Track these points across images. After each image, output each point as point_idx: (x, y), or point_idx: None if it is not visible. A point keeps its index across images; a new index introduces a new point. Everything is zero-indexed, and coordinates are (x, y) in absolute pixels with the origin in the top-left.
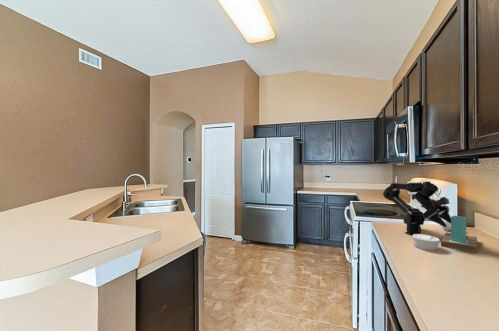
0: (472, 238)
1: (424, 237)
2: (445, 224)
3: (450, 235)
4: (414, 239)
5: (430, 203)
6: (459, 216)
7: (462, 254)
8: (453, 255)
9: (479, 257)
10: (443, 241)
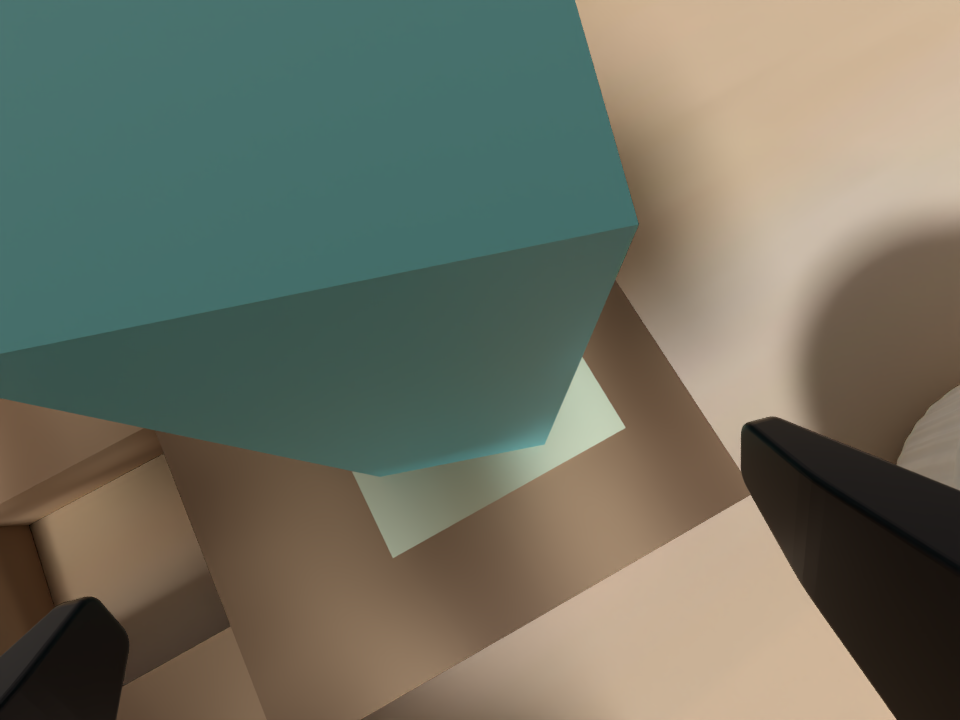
0: (20, 426)
1: None
2: (818, 435)
3: (161, 712)
4: None
5: None
6: (1, 78)
7: (754, 168)
8: (915, 174)
9: (651, 56)
10: (717, 469)
